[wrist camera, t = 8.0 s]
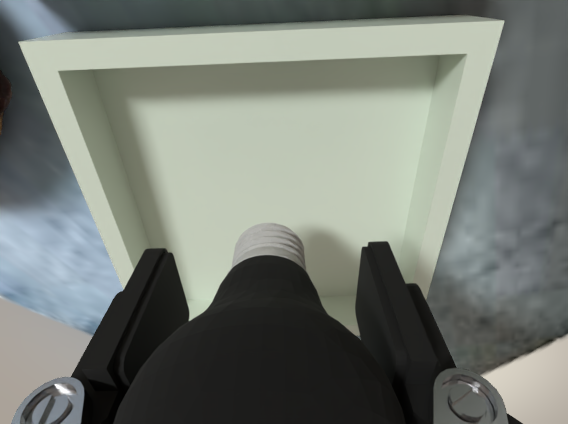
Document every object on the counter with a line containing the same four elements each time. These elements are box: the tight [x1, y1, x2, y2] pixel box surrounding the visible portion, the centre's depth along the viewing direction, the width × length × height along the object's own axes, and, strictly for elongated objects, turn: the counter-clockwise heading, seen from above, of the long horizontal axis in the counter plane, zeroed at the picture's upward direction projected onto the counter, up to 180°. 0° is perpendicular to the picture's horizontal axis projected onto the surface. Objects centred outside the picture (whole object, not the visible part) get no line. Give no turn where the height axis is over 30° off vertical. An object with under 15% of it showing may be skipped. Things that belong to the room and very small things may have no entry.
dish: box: [18, 15, 504, 336], centre depth 14 cm, size 14×14×2 cm
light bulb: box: [113, 223, 406, 424], centre depth 9 cm, size 6×6×10 cm
